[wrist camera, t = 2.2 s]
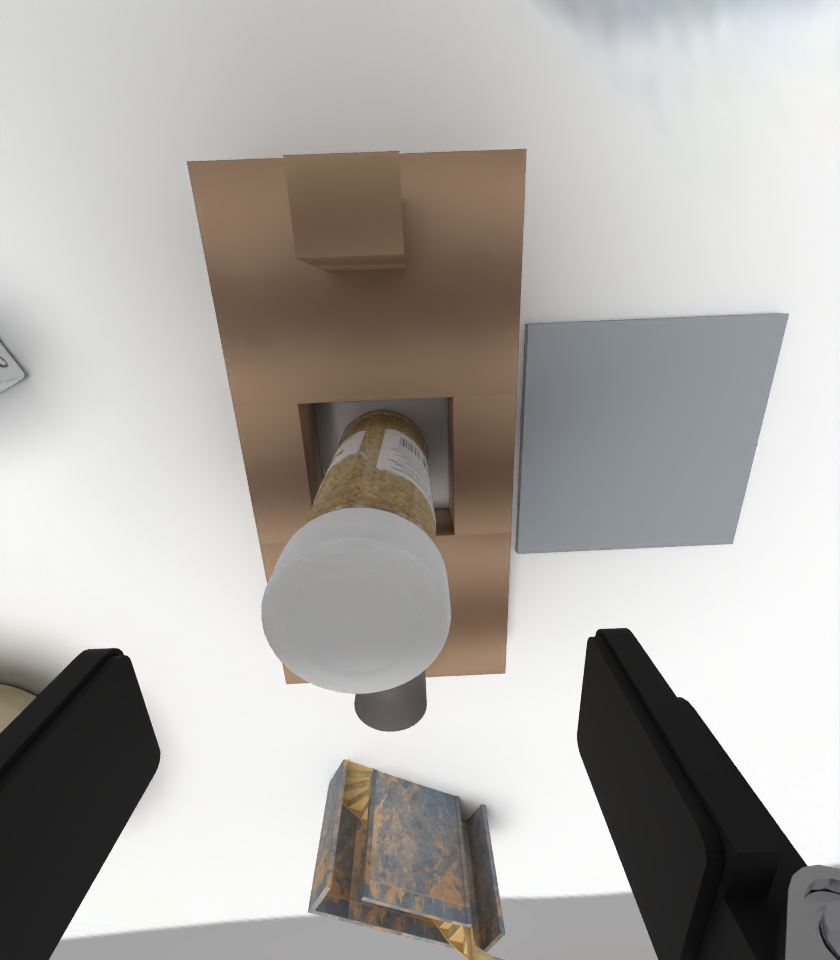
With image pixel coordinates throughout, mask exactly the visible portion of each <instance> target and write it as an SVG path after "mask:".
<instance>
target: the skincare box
mask: <svg viewBox="0 0 840 960" xmlns="http://www.w3.org/2000/svg"><path fill="white" fill-rule="evenodd" d="M24 377H25V374H24V373H23V371H22V370H21V369H20V367H19V366H18V365H17V363H16V362H15V360H14V359H13V358H12V356H11V355H10V354H9V352H8V351H7V350H6V349H5V347H4V346H3V345H2V344H1V343H0V393H1V392H2V391H4V390H6V389H7V388H9V387H11V386H12V385H14V384H16V383H17V382H19V381H20V380H22V379H23V378H24Z"/></svg>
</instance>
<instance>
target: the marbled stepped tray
mask: <svg viewBox="0 0 840 960" xmlns="http://www.w3.org/2000/svg"><path fill="white" fill-rule="evenodd" d="M308 912H309V913H313V914H317V915H321V916H325V917H329V918H333V919H337V920H341V921H345V922H349V923H353V924H357V925H361V926H365V927H369V928H374V929H378V930H381V931H385V932H390V933H393V934H398V935H402V936H406V937H410V938H414V939H418V940H422V941H426V942H430V943H434V944H438V945H442V946H446V947H450V948H454V949H456V950H457V951H458V952H460V953H461V954H462V955H463V956H464V957H465V958H467V959H468V960H503V959H499V958H495V957H492V956H490V955H489V954H487V952H488V951H489V950H490V949H491V948H492V947H493V946H494V945H495V944H496V943H497V942H498V940H500V939H501V938H502V937H503V936H504V935H505V929H504V922H503V916H502V909H501V903H500V896H499V890H498V883H497V877H496V871H495V864H494V858H493V851H492V845H491V839H490V832H489V826H488V819H487V813H486V806H485V805H483V804H482V805H481V806H480V807H479V808H478V810H477V811H476V812H475V813H474V814H473V816H472V817H471V818H470V819H469V821H468V822H467V823H466V822H463V821H461V813H460V803H459V797H458V796H453V795H450V794H447V793H444V792H440V791H437V790H434V789H431V788H428V787H425V786H422V785H419V784H416V783H412V782H409V781H406V780H403V779H400V778H397V777H394V776H391V775H388V774H384V773H381V772H378V771H377V770H374V768H373V769H371V768H368V767H365V766H362V765H358V764H355V763H352V762H349V760H348V761H346V760H343V762H342V763H341V765H340V767H339V768H338V770H337V771H336V773H335V775H334V776H333V778H332V779H331V781H330V783H329V788H328V794H327V800H326V806H325V812H324V818H323V824H322V830H321V836H320V842H319V848H318V854H317V860H316V866H315V872H314V878H313V884H312V890H311V897H310V903H309V909H308Z"/></svg>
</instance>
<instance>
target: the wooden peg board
mask: <svg viewBox="0 0 840 960" xmlns="http://www.w3.org/2000/svg"><path fill="white" fill-rule="evenodd" d="M283 157H284V158H269V159H243V160H216V161H189V162H187V165H188V170H189V175H190V181H191V186H192V191H193V196H194V202H195V207H196V212H197V217H198V223H199V228H200V233H201V238H202V244H203V249H204V254H205V259H206V265H207V270H208V275H209V280H210V286H211V291H212V296H213V301H214V307H215V312H216V317H217V322H218V328H219V333H220V338H221V343H222V349H223V354H224V359H225V364H226V370H227V375H228V380H229V385H230V391H231V396H232V401H233V406H234V412H235V417H236V422H237V427H238V433H239V438H240V443H241V448H242V454H243V459H244V464H245V469H246V475H247V480H248V485H249V490H250V496H251V501H252V506H253V511H254V517H255V522H256V527H257V532H258V538H259V543H260V548H261V553H262V559H263V564H264V569H265V574H266V580H267V584H268V582H269V579H270V577H271V575H272V572H273V570H274V568H275V566H276V564H277V561H278V559H279V557H280V555H281V554H282V552H283V550H284V548H285V546H286V545H287V543H288V541H289V540H290V539H291V538H292V536H293V535H294V534H295V533H296V532H297V531H298V530H299V529H301V528H302V527H303V526H304V524H305V521H306V520H307V517H308V515H309V513H310V511H311V509H312V507H313V504H314V500H315V497H316V495H317V492H318V490H319V488H320V485H321V483H322V481H323V477H322V469H321V461H320V453H319V445H318V437H317V429H316V421H315V413H314V405H313V403H328V402H351V401H375V400H398V399H422V398H445V397H448V460H449V509H434V513H435V519H436V531H435V538H436V546H437V548H438V550H439V552H440V554H441V556H442V558H443V561H444V563H445V568H446V573H447V579H448V587H449V596H450V606H451V622H450V628H449V633H448V636H447V639H446V642H445V644H444V646H443V648H442V650H441V652H440V653H439V655H438V656H437V657H436V659H435V660H434V661H433V662H432V664H431V665H430V666H429V667H428V668H427V669H425V670H424V671H423V672H422V673H421V674H420V675H418V676H417V677H415V678H413V679H412V680H410V681H408V682H406V683H404V684H402V685H399V686H397V687H394V688H392V689H388V690H384V691H380V692H374V693H366V694H356V696H355V703H354V704H355V711H356V713H357V715H358V717H359V718H360V719H361V721H363V722H364V723H365V724H366V725H368V726H370V727H372V728H374V729H377V730H381V731H400V730H404V729H407V728H409V727H411V726H413V725H415V724H416V723H417V722H418V721H420V719H421V718H422V717H423V715H424V714H425V711H426V707H427V700H426V679H425V677H441V676H462V675H482V674H503V673H505V668H506V644H507V619H508V594H509V569H510V544H511V520H512V495H513V470H514V445H515V421H516V396H517V371H518V346H519V322H520V297H521V272H522V247H523V222H524V198H525V173H526V149H512V150H485V151H458V152H431V153H404V154H399V151H388V152H361V153H334V154H307V155H283ZM282 664H283V663H282ZM283 669H284V674H285V679H286V684H298V683H309V682H307V681H305V680H304V679H302V678H300V677H299V676H297V675H296V674H294V673H293V672H292V671H291V670H289V669H288V668H287V667H286V666H285V665H284V664H283Z"/></svg>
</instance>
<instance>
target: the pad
mask: <svg viewBox="0 0 840 960" xmlns="http://www.w3.org/2000/svg"><path fill="white" fill-rule="evenodd" d="M788 316H789V314H757V315H733V316H709V317H684V318H660V319H635V320H611V321H587V322H562V323H538V324H526V327H525V349H524V371H523V393H522V415H521V437H520V460H519V482H518V504H517V526H516V548H515V549H516V552H517V554H525V553H547V552H568V551H590V550H612V549H633V548H655V547H676V546H698V545H720V544H733V540H734V536H735V532H736V528H737V524H738V520H739V516H740V512H741V508H742V504H743V500H744V495H745V491H746V487H747V483H748V479H749V475H750V471H751V467H752V463H753V459H754V455H755V451H756V446H757V442H758V438H759V434H760V430H761V426H762V422H763V418H764V414H765V410H766V406H767V401H768V397H769V393H770V389H771V385H772V381H773V377H774V373H775V369H776V365H777V361H778V357H779V352H780V348H781V344H782V340H783V336H784V332H785V328H786V324H787V320H788Z"/></svg>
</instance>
